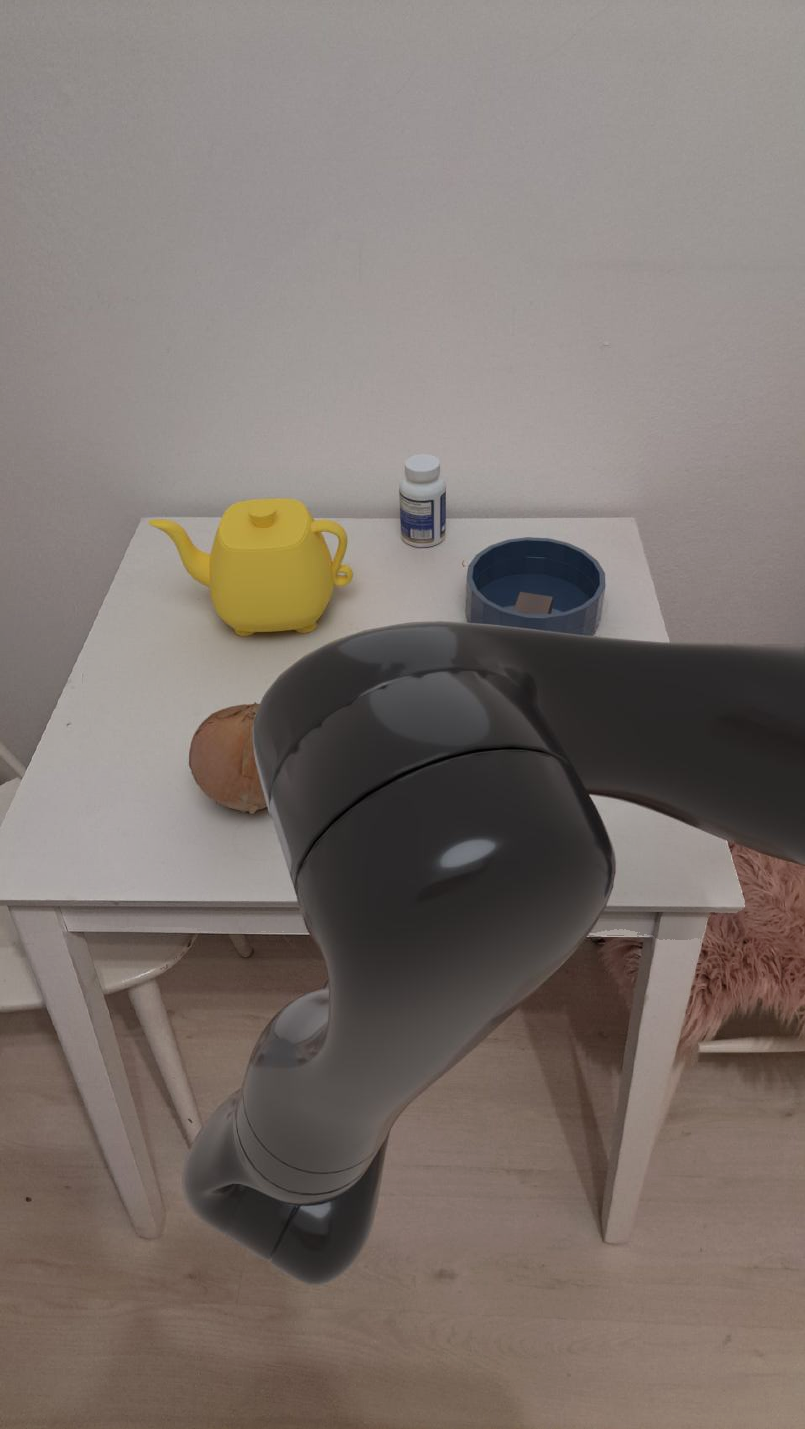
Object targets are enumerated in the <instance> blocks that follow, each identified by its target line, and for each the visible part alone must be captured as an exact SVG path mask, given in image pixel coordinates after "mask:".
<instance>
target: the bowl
mask: <svg viewBox="0 0 805 1429" xmlns="http://www.w3.org/2000/svg"><path fill="white" fill-rule="evenodd" d="M606 586H607V584H606V573H605V571H604V569H603V567H602V566H601V564H600V562H599V560H597V559H596V558H595V557H593V556H592V555H591V554H590V553H588V552H587V551H586V550H584V549H582V548H580V547H578V546H576V545H575V544H572V543H569V542H567V541H563V540H558V539H554V538H548V537H533V536H532V537H531V536H527V537H526V536H525V537H518V538H517V537H516V538H509V539H506V540H503V541H499V542H496V543H494V544H491V545H488V546H487V547H485V548H484V549H482V550H481V551H480V552H478V553H477V554H475V555H474V557H473V559H472V560H471V561H470V563H469V564H468V566H467V572H466V588H465V614H466V619H467V623H477V624H491V625H500V626H509V627H518V628H527V629H535V630H544V631H552V632H561V633H570V634H579V635H588V636H595V634H596V632H597V630H598V628H599V625H600V621H601V617H602V612H603V611H602V610H603V605H604V600H605V598H604V597H605V593H606V592H605V591H606ZM520 592H525V593H531V594H538V595H544V596H551V597H553V604H552V614H546V615H541V614H524V613H520V612H516V611H513V610H514V607H515V604H516V601H517V598H518V595H519V593H520Z"/></svg>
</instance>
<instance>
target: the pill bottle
mask: <svg viewBox="0 0 805 1429" xmlns="http://www.w3.org/2000/svg"><path fill="white" fill-rule="evenodd" d="M398 495H399V519H400V520H399V521H400V522H399V523H400V535H401V539H402V541H403V542H405V543H406V544H407V545H409V546H411V547H415V548H429V547H433V546H437V545H438V544H440V543H441V542H442V541H444V540H445V537H446V533H447V532H446V531H447V483H446V480H445V478H444V477H443V476H442V475H441V462H440V460H439V458H438V457H437V456H434V455H432V454H427V453H420V454H414V455H411V456H409V457H408V458H406V460H405V461H404V475H403V477H402V478H401V479H400V480H399V485H398Z"/></svg>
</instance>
